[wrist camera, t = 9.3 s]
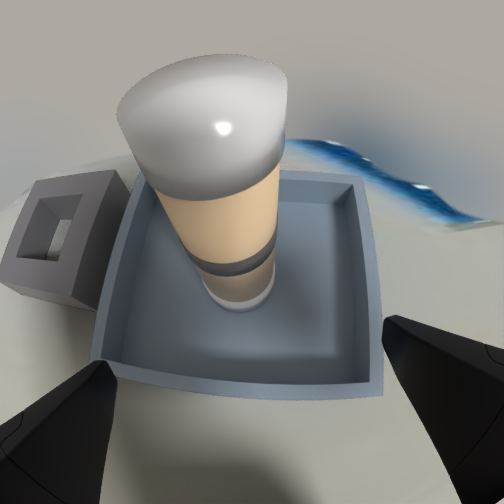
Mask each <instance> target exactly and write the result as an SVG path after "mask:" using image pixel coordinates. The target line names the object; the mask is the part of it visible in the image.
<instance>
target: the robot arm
mask: <svg viewBox="0 0 504 504" xmlns="http://www.w3.org/2000/svg"><path fill="white" fill-rule="evenodd" d="M381 341H382V345H383V348H384V350H385V352H386V354H387V356H388V358H389V361H390V363H391V365H392V367H393V370H394V372H395V374H396V376H397V378H398V381H399V382H400V384H401V386H402V388H403V389H404V391H405V393H406V395H407V396H408V398H409V400H410V402H411V403H412V405H413V407H414V409H415V411H416V412H417V414H418V416H419V418H420V420H421V421H422V423H423V425H424V427H425V429H426V431H427V433H428V434H429V436H430V438H431V440H432V442H433V444H434V446H435V448H436V450H437V452H438V454H439V456H440V458H441V460H442V462H443V464H444V466H445V468H446V470H447V472H448V474H449V475H450V476H449V477H450V479H451V481H452V483H453V485H454V487H455V490H456V492H457V494H458V496H459V499H460V501H461V503H462V504H496V503H497V502H499V501H500V500H501V499H503V498H504V349H501V348H497V347H494V346H491V345H488V344H483V343H481V342H478V341H475V340H472V339H469V338H466V337H462V336H459V335H456V334H453V333H450V332H447V331H444V330H441V329H438V328H435V327H432V326H429V325H425V324H422V323H419V322H416V321H413V320H410V319H407V318H404V317H401V316H398V315H393V316H389V317H386V318H385V319H384V322H383V329H382V337H381ZM116 392H117V379H116V377H115V375H114V373H113V371H112V369H111V367H110V365H109V364H108V362H107V361H105V360H95V361H93V362H92V363H90V364H89V365H87V366H86V367H85V368H83V369H82V370H80V371H79V372H77V373H76V374H75V375H73V376H72V377H70V378H69V379H67V380H66V381H65V382H63V383H62V384H60V385H59V386H57V387H56V388H54V389H53V390H52V391H50V392H49V393H47V394H46V395H44V396H43V397H42V398H40V399H39V400H37V401H36V402H34V403H33V404H32V405H30V406H29V407H27V408H26V409H25V410H24V411H21V412H20V413H19V414H17V415H16V416H14V417H13V418H11V419H10V420H8V421H7V422H5V423H3V424H2V425H0V504H99V502H100V493H101V486H102V479H103V472H104V466H105V460H106V454H107V449H108V443H109V438H110V433H111V429H112V423H113V417H114V408H115V399H116Z"/></svg>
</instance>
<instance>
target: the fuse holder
mask: <svg viewBox="0 0 504 504" xmlns="http://www.w3.org/2000/svg"><path fill="white" fill-rule="evenodd" d="M130 196H131V195H130V193H129V191H128V190H127V188H126V186H125V185H124V183H123V181H122V180H121V178H120V176H119V175H118V173H117V171H116V170H107V171H98V172H90V173H83V174H75V175H69V176H62V177H56V178H50V179H44V180H39V181H36V182H35V184H34V186H33V188H32V190H31V192H30V194H29V196H28V198H27V200H26V202H25V204H24V206H23V208H22V210H21V212H20V215H19V217H18V219H17V222H16V224H15V226H14V229H13V231H12V234H11V236H10V239H9V241H8V244H7V247H6V249H5V252H4V255H3V258H2V261H1V264H0V283H2V284H4V285H5V286H7V287H9V288H10V289H12V290H14V291H16V292H17V293H19V294H21V295H25V296H29V297H33V298H37V299H41V300H45V301H49V302H53V303H58V304H62V305H67V306H71V307H76V308H81V309H86V310H91V311H98V306H99V302H100V297H101V293H102V288H103V284H104V280H105V276H106V272H107V268H108V265H109V261H110V257H111V254H112V250H113V247H114V244H115V240H116V237H117V234H118V231H119V228H120V225H121V222H122V219H123V216H124V213H125V210H126V207H127V204H128V201H129V199H130ZM62 219H73V220H72V222H71V225H70V228H69V230H68V233H67V236H66V238H65V241H64V244H63V247H62V250H61V253H60V256H59V259H58V262H57V261H47V260H45V258H46V255H47V252H48V249H49V246H50V243H51V241H52V238H53V235H54V233H55V230H56V227H57V225H58V222H59V220H62Z"/></svg>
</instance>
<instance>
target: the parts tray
mask: <svg viewBox="0 0 504 504" xmlns="http://www.w3.org/2000/svg"><path fill="white" fill-rule="evenodd" d="M277 212H278V227H277V239H276V244H275V254H274V262H275V278H274V286H273V290H272V293H271V295H270V297H269V298H268V300H267V301H266V302H265V303H264V304H263V305H262V306H260V307H259V308H257V309H255V310H253V311H250V312H246V313H234V312H229V311H227V310H225V309H223V308H221V307H220V306H218V305H217V304H216V303H215V302H214V301H213V299H212V298H211V296H210V294H209V293H208V291H207V289H206V288H205V286H204V284H203V281H202V278H201V275H200V274H199V272H198V270H197V268H196V267H195V265H194V263H193V262H192V261H191V259H190V258H189V256H188V255H187V253H186V251H185V249H184V247H183V246H182V244H181V242H180V240H179V237H178V234H177V232H176V230H175V228H174V226H173V224H172V223H171V221H170V219H169V217H168V215H167V213H166V211H165V209H164V207H163V205H162V203H161V201H160V199H159V197H158V195H157V193H156V191H155V189H154V188H153V187H152V186H151V185H150V184H149V183H148V182H147V181H146V179H145V177H144V175H143V173H142V172H140V173H139V175H138V178H137V180H136V183H135V185H134V188H133V191H132V193H131V196H130V199H129V201H128V204H127V207H126V210H125V213H124V216H123V219H122V222H121V225H120V228H119V231H118V234H117V237H116V240H115V244H114V247H113V250H112V254H111V257H110V261H109V265H108V268H107V272H106V276H105V280H104V284H103V288H102V293H101V297H100V302H99V306H98V311H97V316H96V321H95V326H94V332H93V338H92V344H91V351H90V358H89V364H90V363H92V362H93V361H95V360H105V361H107V362H108V364H109V365H110V367H111V369H112V371H113V373H114V375H115V376H116V377H120V378H124V379H128V380H132V381H136V382H141V383H145V384H150V385H155V386H160V387H165V388H170V389H176V390H182V391H188V392H194V393H201V394H209V395H217V396H226V397H237V398H249V399H266V400H336V399H353V398H365V397H375V396H383V379H384V350H383V345H382V341H381V337H382V329H383V322H382V306H381V294H380V283H379V274H378V265H377V257H376V250H375V243H374V236H373V230H372V224H371V218H370V213H369V207H368V202H367V197H366V192H365V188H364V183H363V179H362V176H353V175H343V174H332V173H319V172H305V171H287V170H280V171H279V190H278V207H277Z"/></svg>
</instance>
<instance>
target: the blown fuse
mask: <svg viewBox="0 0 504 504" xmlns="http://www.w3.org/2000/svg"><path fill="white" fill-rule="evenodd" d="M286 103H287V80H286V77H285V75H284V74H283V72H282V71H281V70H280V69H279V68H277V67H276V66H274V65H273V64H271V63H269V62H267V61H264V60H262V59H258V58H255V57H251V56H246V55H237V54H215V55H205V56H199V57H194V58H190V59H185V60H182V61H179V62H175V63H173V64H170V65H167V66H165V67H163V68H161V69H158V70H157V71H155V72H153V73H151V74H149V75H148V76H146V77H144V78H143V79H141V80H140V81H139V82H138V83H136V84H135V85H134V86H133V87H132V88H131V89H130V90H129V91H128V92H127V93H126V94H125V95H124V97H123V98H122V100H121V101H120V103H119V106H118V108H117V113H116V115H117V121H118V123H119V125H120V127H121V129H122V132H123V134H124V136H125V138H126V140H127V142H128V144H129V146H130V149H131V151H132V153H133V155H134V157H135V159H136V161H137V163H138V165H139V167H140V169H141V171H142V173H143V175H144V177H145V179H146V181H147V182H148V183H149V184H150V185H151V186H152V187H153V188H154V189H155V191H156V193H157V195H158V197H159V199H160V201H161V203H162V205H163V207H164V209H165V211H166V213H167V215H168V217H169V219H170V221H171V223H172V224H173V226H174V228H175V230H176V232H177V234H178V237H179V240H180V242H181V244H182V246H183V247H184V249H185V251H186V253H187V255H188V256H189V258H190V259H191V261H192V262H193V263H194V265H195V267H196V268H197V270H198V272H199V274H200V275H201V278H202V281H203V284H204V286H205V288H206V289H207V291H208V293H209V294H210V296H211V298H212V299H213V301H214V302H215V303H216V304H217V305H218V306H220V307H221V308H223V309H225V310H227V311H229V312H234V313H246V312H250V311H253V310H255V309H257V308H259V307H260V306H262V305H263V304H264V303H265V302H266V301H267V300H268V298H269V297H270V295H271V293H272V290H273V286H274V278H275V262H274V254H275V244H276V239H277V227H278V212H277V207H278V190H279V171H280V160H281V157H282V155H283V151H284V143H285V124H286V123H285V122H286V105H287V104H286Z"/></svg>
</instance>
